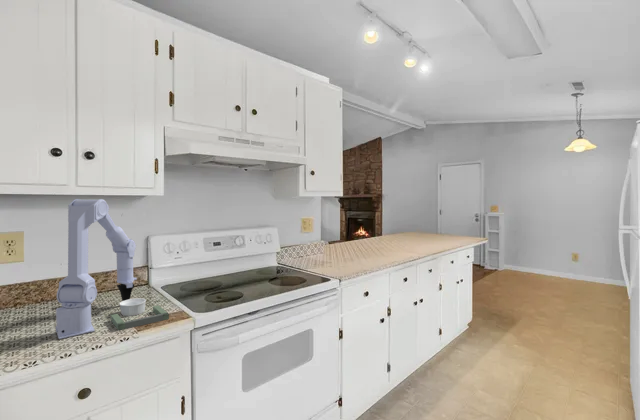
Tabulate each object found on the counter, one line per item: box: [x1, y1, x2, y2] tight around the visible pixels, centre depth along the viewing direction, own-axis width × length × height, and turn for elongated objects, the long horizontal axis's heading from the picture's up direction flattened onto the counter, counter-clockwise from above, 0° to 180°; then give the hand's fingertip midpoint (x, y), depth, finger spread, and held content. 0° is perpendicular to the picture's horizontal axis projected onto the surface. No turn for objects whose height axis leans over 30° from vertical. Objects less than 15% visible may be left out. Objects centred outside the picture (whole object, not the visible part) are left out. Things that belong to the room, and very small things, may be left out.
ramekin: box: [119, 297, 147, 317], centre depth 131 cm, size 9×9×4 cm
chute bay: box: [110, 304, 170, 331], centre depth 123 cm, size 16×12×2 cm
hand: (126, 301), depth 139 cm, fingers closed
